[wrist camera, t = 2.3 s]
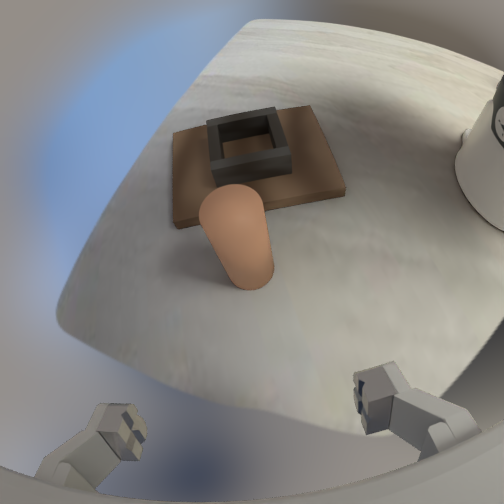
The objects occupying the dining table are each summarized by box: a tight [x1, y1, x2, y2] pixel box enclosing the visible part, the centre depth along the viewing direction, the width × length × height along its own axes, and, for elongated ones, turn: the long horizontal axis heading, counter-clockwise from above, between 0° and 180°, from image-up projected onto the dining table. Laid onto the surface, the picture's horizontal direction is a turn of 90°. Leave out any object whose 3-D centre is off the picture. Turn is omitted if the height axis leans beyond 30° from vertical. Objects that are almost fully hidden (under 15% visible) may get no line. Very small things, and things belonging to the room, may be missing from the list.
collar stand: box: [173, 105, 346, 229], centre depth 34 cm, size 18×14×4 cm
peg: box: [199, 184, 274, 290], centre depth 26 cm, size 4×4×10 cm
